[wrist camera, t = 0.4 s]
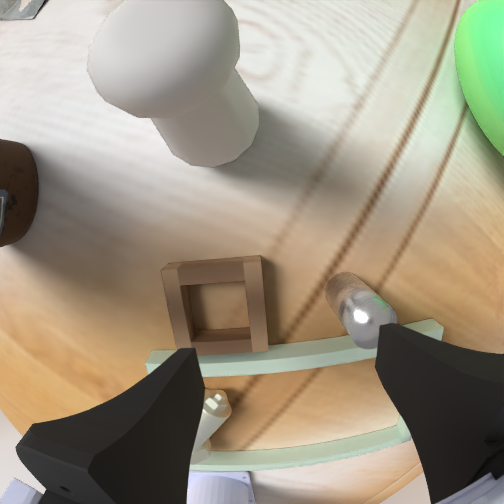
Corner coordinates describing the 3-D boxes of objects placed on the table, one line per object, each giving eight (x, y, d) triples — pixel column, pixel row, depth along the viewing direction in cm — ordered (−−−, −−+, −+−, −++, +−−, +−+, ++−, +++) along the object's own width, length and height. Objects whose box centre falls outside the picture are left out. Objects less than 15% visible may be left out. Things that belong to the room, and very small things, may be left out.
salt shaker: (171, 96, 17) (70, -8, 4) (254, 84, 17) (256, -55, 4) (176, 176, 18) (47, 158, 5) (262, 166, 18) (284, 112, 5)
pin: (360, 305, 20) (394, 344, 14) (325, 310, 20) (349, 353, 14) (361, 270, 19) (399, 300, 14) (324, 274, 19) (352, 307, 14)
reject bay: (403, 429, 23) (409, 440, 21) (190, 456, 24) (187, 469, 22) (431, 318, 20) (443, 327, 18) (152, 350, 21) (145, 363, 19)
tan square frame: (267, 338, 20) (268, 351, 19) (183, 343, 21) (178, 355, 19) (260, 254, 19) (261, 261, 17) (168, 263, 19) (160, 270, 18)
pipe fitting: (223, 371, 22) (149, 381, 22) (222, 401, 18) (138, 409, 18) (244, 431, 24) (179, 438, 23) (246, 460, 20) (175, 466, 20)
